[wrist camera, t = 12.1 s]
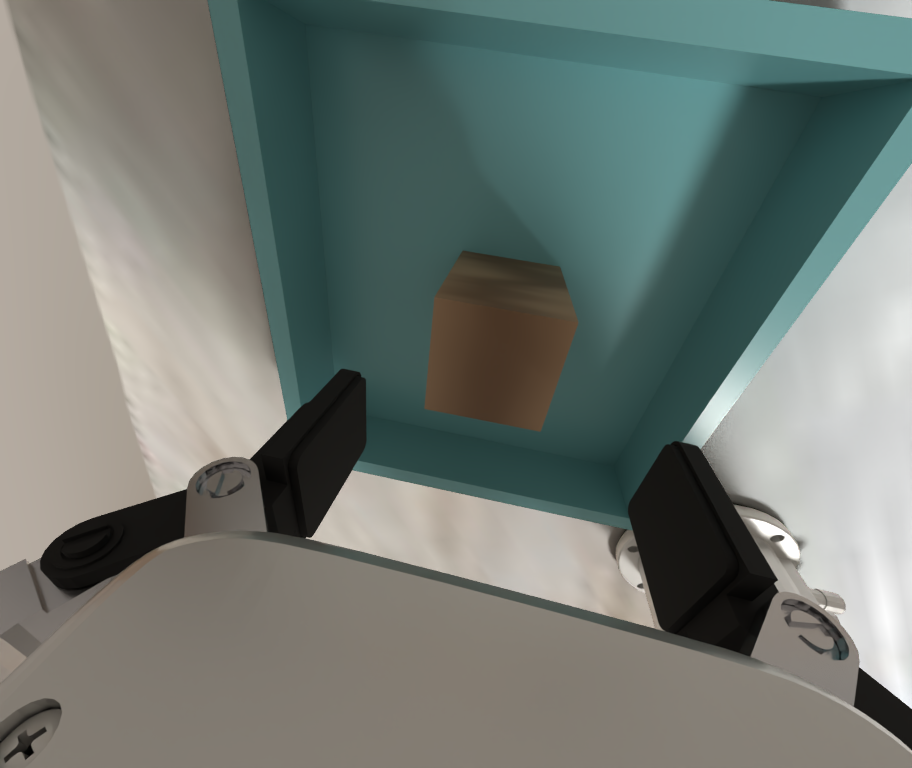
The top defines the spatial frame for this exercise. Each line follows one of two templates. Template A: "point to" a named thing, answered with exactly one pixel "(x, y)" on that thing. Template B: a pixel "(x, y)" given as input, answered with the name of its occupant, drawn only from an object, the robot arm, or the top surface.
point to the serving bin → (556, 206)
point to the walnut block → (499, 340)
